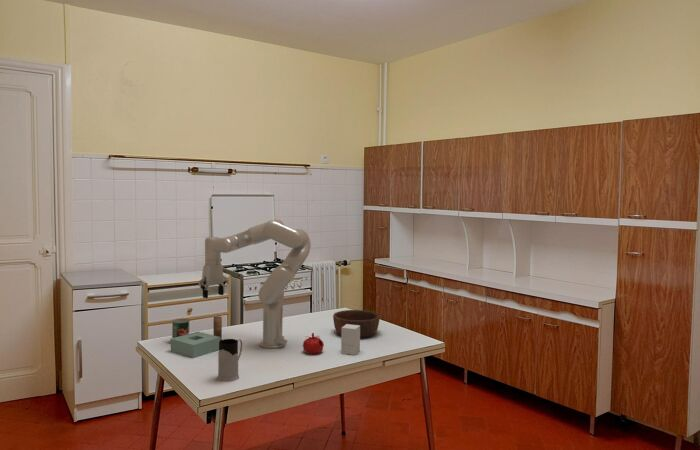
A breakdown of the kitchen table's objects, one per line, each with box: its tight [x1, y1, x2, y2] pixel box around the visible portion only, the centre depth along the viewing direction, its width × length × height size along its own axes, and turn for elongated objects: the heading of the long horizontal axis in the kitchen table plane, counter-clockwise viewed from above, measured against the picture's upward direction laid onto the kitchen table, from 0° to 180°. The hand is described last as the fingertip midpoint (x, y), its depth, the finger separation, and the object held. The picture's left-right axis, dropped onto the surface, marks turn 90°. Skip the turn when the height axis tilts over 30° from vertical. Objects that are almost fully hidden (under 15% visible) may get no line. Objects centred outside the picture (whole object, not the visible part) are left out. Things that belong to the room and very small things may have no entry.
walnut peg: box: [212, 315, 223, 340], centre depth 267 cm, size 4×4×12 cm
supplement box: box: [340, 324, 361, 356], centre depth 253 cm, size 7×7×13 cm
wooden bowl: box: [332, 309, 381, 339], centre depth 286 cm, size 25×25×10 cm
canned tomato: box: [171, 318, 190, 338], centre depth 263 cm, size 8×8×11 cm
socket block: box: [170, 331, 221, 359], centre depth 251 cm, size 16×16×6 cm
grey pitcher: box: [216, 338, 243, 383], centre depth 218 cm, size 9×14×15 cm, turn 159°
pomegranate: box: [302, 332, 325, 355], centre depth 252 cm, size 10×10×9 cm
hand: (213, 296), depth 264 cm, fingers open, 9 cm apart
